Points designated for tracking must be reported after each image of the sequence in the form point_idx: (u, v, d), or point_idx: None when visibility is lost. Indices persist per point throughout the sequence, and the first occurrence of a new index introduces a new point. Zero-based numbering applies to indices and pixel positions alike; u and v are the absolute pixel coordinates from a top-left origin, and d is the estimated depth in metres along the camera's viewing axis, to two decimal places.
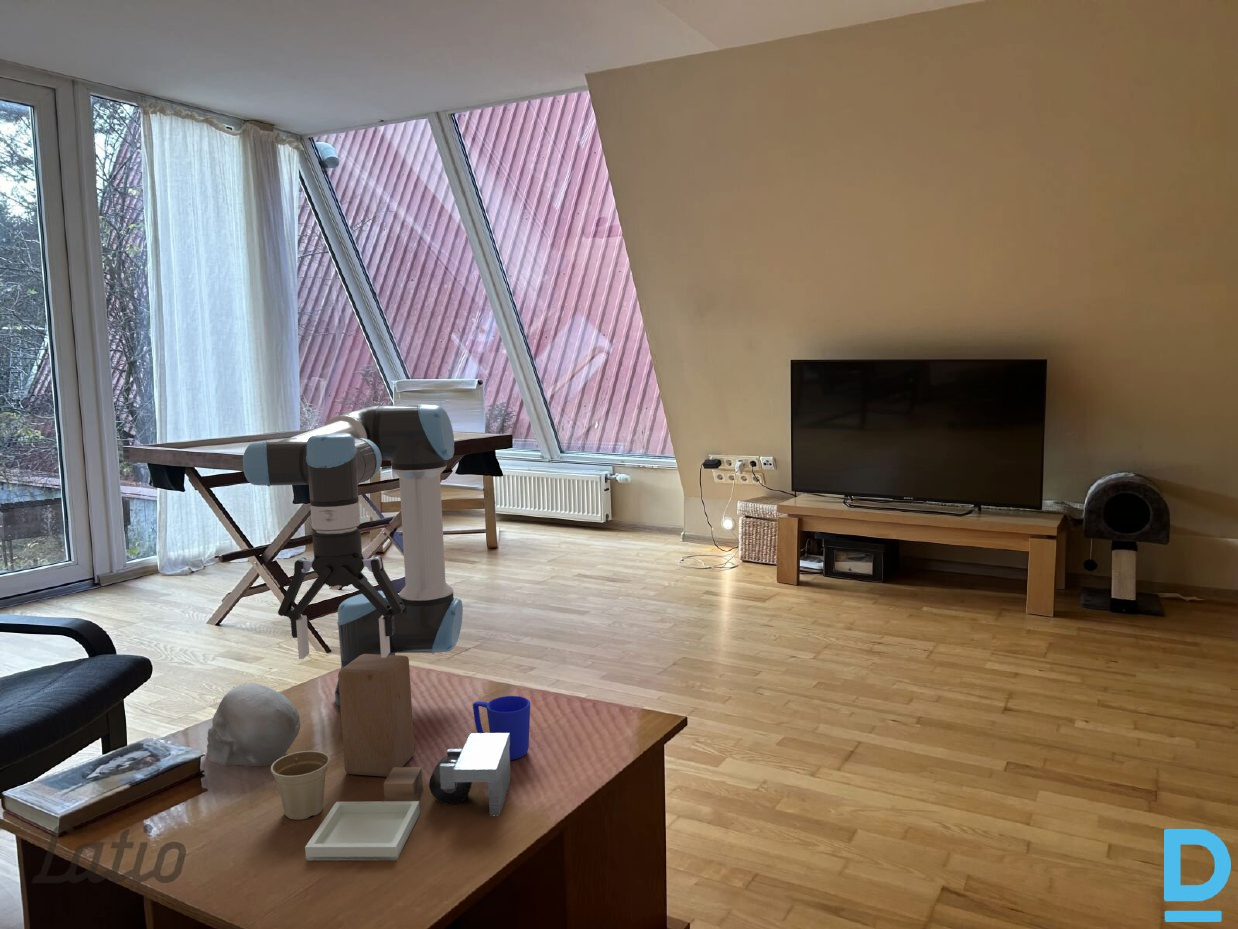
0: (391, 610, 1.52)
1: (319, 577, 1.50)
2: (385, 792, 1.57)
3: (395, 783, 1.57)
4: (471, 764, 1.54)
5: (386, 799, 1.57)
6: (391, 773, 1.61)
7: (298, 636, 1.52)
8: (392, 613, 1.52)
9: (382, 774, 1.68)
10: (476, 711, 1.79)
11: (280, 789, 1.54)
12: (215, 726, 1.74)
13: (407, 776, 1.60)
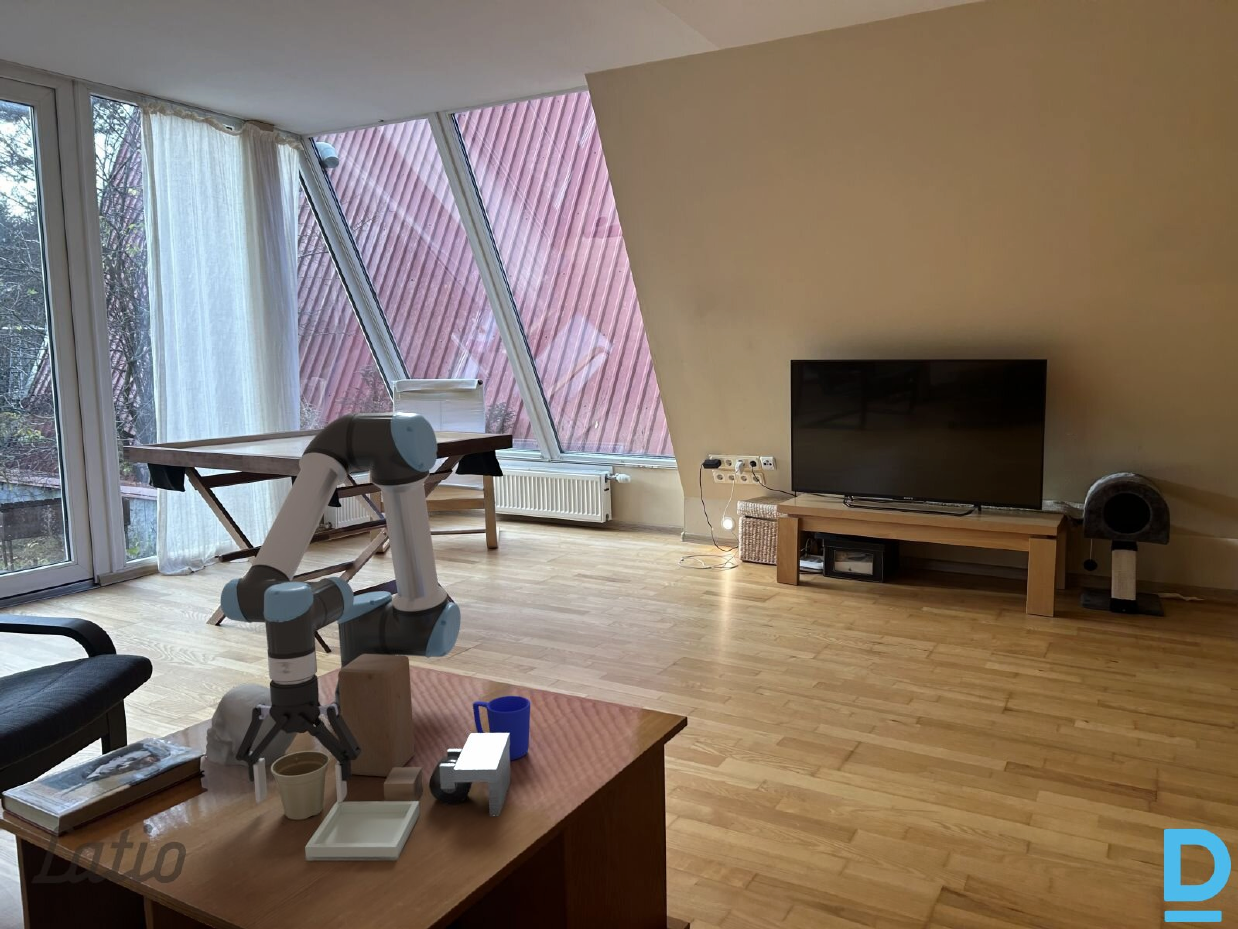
0: (347, 756, 1.55)
1: (276, 724, 1.53)
2: (385, 792, 1.57)
3: (395, 783, 1.57)
4: (471, 764, 1.54)
5: (386, 799, 1.57)
6: (391, 773, 1.61)
7: (255, 780, 1.55)
8: (348, 759, 1.55)
9: (382, 774, 1.68)
10: (476, 711, 1.79)
11: (280, 789, 1.54)
12: (214, 726, 1.74)
13: (407, 776, 1.60)
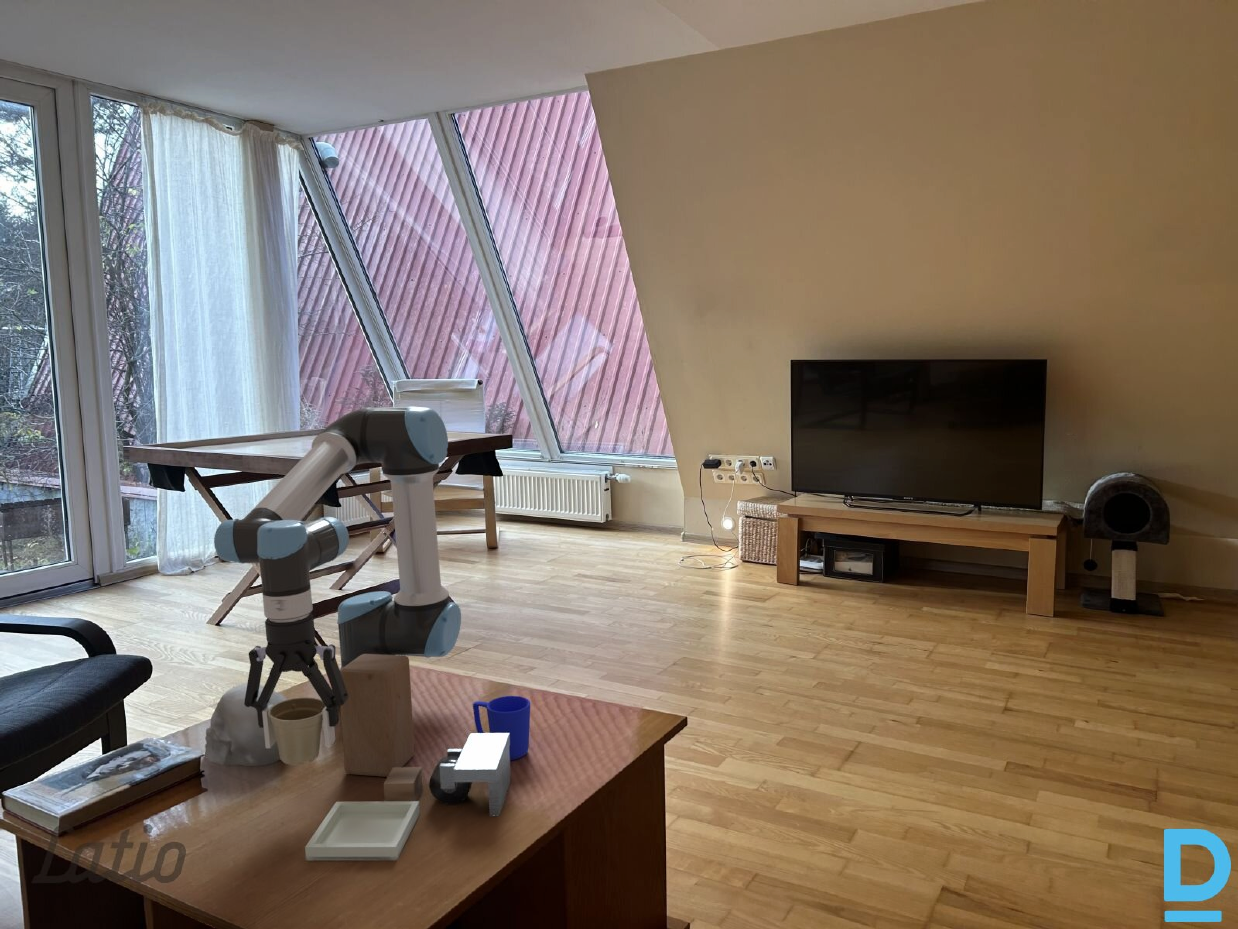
0: (334, 701, 1.54)
1: (274, 665, 1.52)
2: (385, 792, 1.57)
3: (395, 783, 1.57)
4: (471, 764, 1.54)
5: (386, 799, 1.57)
6: (390, 773, 1.61)
7: (264, 726, 1.54)
8: (335, 705, 1.54)
9: (382, 774, 1.68)
10: (476, 711, 1.79)
11: (277, 733, 1.53)
12: (213, 726, 1.74)
13: (407, 776, 1.60)
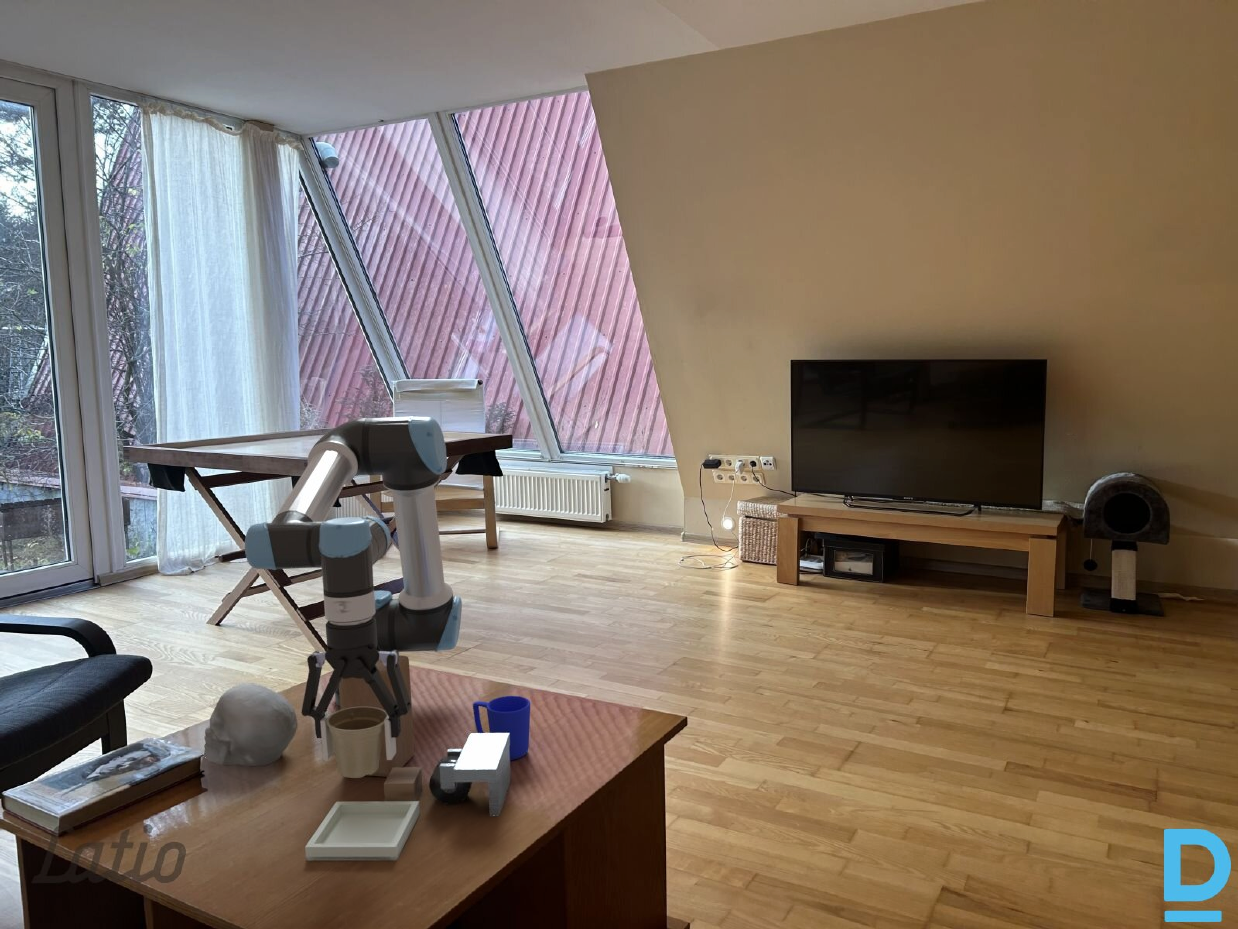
0: (397, 711, 1.45)
1: (334, 671, 1.43)
2: (385, 792, 1.57)
3: (395, 783, 1.57)
4: (471, 764, 1.54)
5: (386, 799, 1.57)
6: (390, 773, 1.61)
7: (322, 737, 1.45)
8: (398, 715, 1.45)
9: (382, 774, 1.68)
10: (476, 711, 1.79)
11: (336, 744, 1.44)
12: (212, 726, 1.74)
13: (407, 776, 1.60)
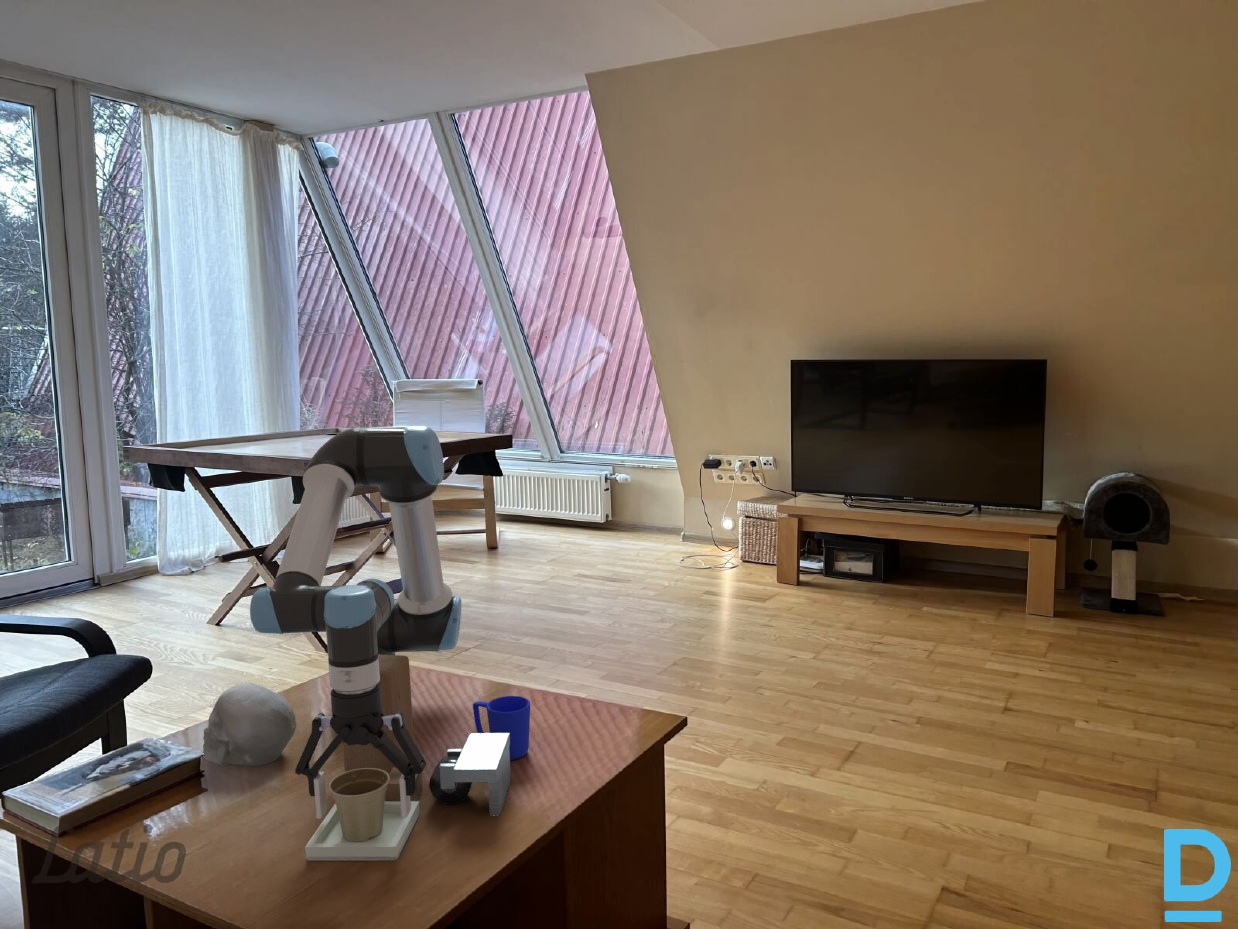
0: (412, 769, 1.46)
1: (337, 736, 1.45)
2: (385, 792, 1.57)
3: (395, 783, 1.57)
4: (471, 764, 1.54)
5: (386, 799, 1.57)
6: (390, 773, 1.61)
7: (316, 795, 1.47)
8: (413, 772, 1.46)
9: None
10: (476, 711, 1.79)
11: (338, 809, 1.46)
12: (211, 726, 1.74)
13: None
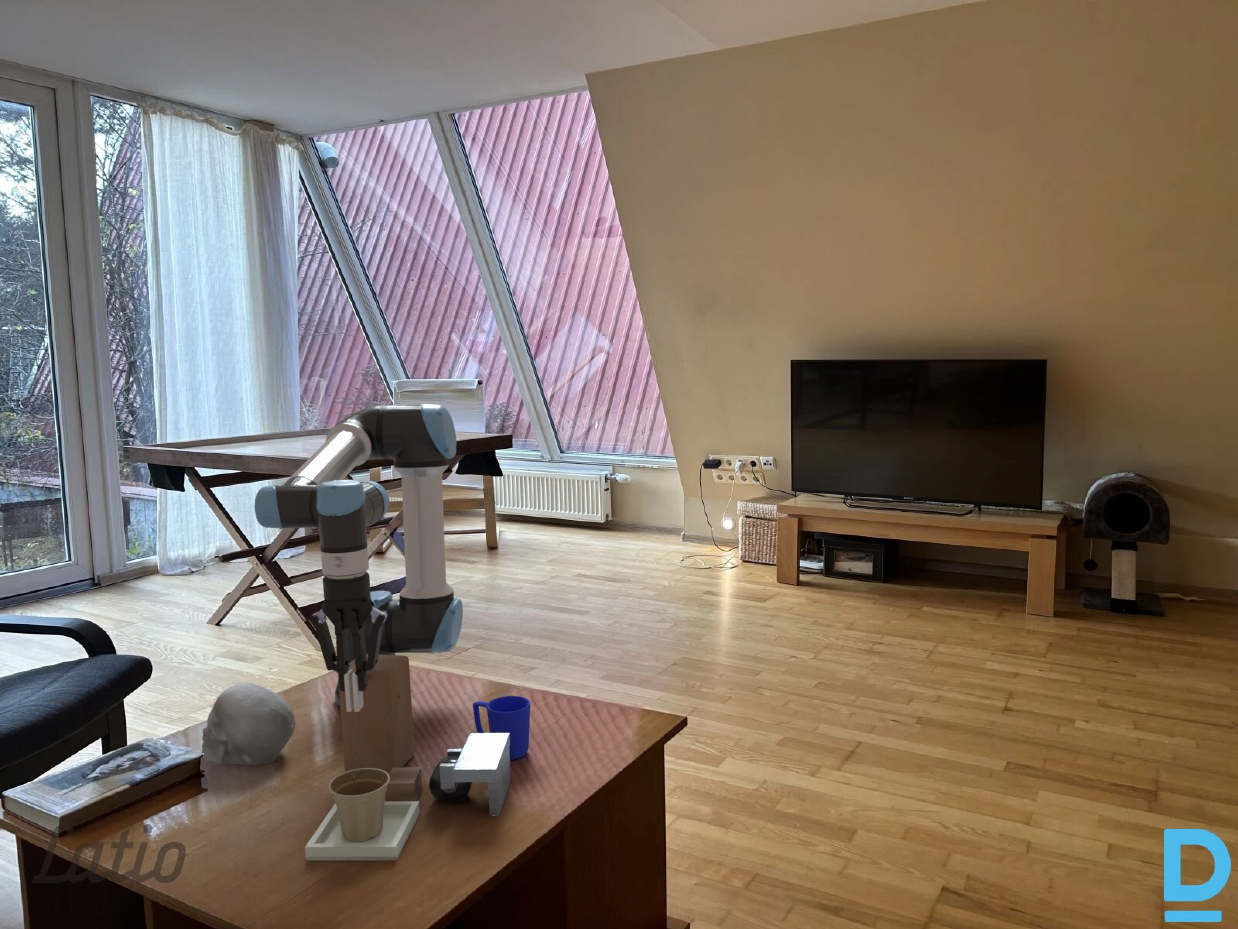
0: (364, 666, 1.57)
1: (335, 624, 1.55)
2: (386, 792, 1.57)
3: (395, 783, 1.57)
4: (471, 764, 1.54)
5: (387, 799, 1.57)
6: (390, 773, 1.61)
7: (346, 690, 1.57)
8: (364, 672, 1.57)
9: None
10: (476, 711, 1.79)
11: (338, 809, 1.46)
12: (210, 725, 1.74)
13: (407, 776, 1.60)
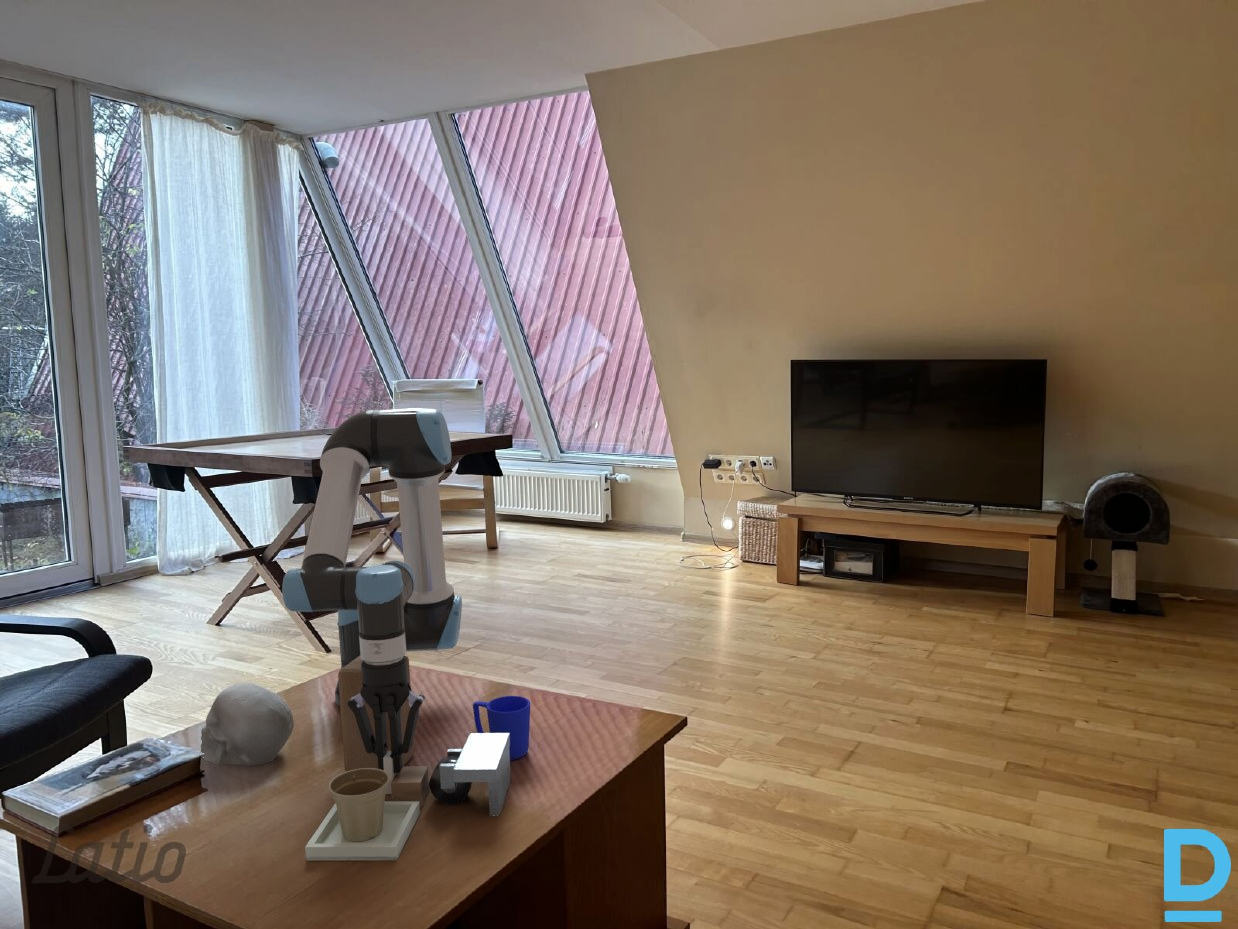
0: (399, 749, 1.59)
1: (374, 708, 1.57)
2: (392, 791, 1.57)
3: (402, 782, 1.57)
4: (471, 764, 1.54)
5: (393, 798, 1.57)
6: None
7: None
8: (399, 755, 1.59)
9: None
10: (476, 711, 1.79)
11: (338, 809, 1.46)
12: (208, 725, 1.74)
13: (414, 775, 1.59)
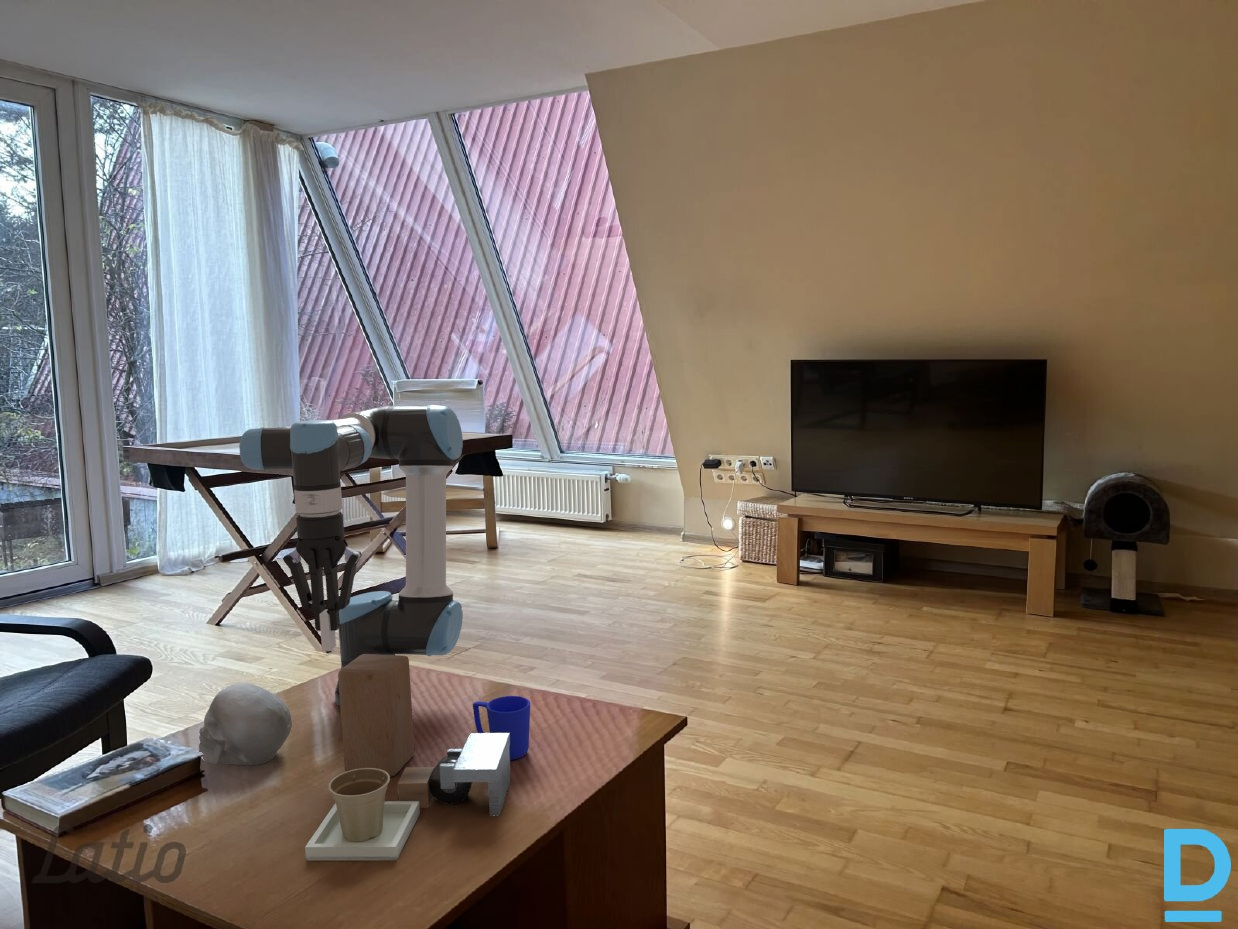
0: (336, 605, 1.58)
1: (309, 563, 1.56)
2: (399, 792, 1.57)
3: (409, 783, 1.57)
4: (471, 764, 1.54)
5: (400, 799, 1.57)
6: (403, 773, 1.61)
7: (321, 629, 1.58)
8: (336, 611, 1.58)
9: None
10: (476, 711, 1.79)
11: (338, 809, 1.46)
12: (207, 725, 1.74)
13: (420, 776, 1.59)
